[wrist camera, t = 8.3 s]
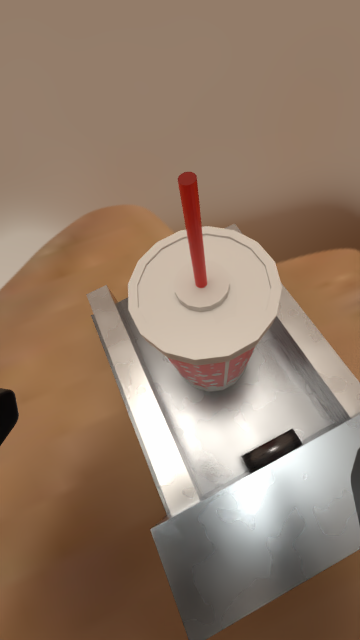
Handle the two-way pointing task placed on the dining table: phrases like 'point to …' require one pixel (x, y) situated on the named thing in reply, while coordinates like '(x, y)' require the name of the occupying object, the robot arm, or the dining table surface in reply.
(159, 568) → the dining table surface
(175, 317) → the beverage cup
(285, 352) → the housing
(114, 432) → the dining table surface
